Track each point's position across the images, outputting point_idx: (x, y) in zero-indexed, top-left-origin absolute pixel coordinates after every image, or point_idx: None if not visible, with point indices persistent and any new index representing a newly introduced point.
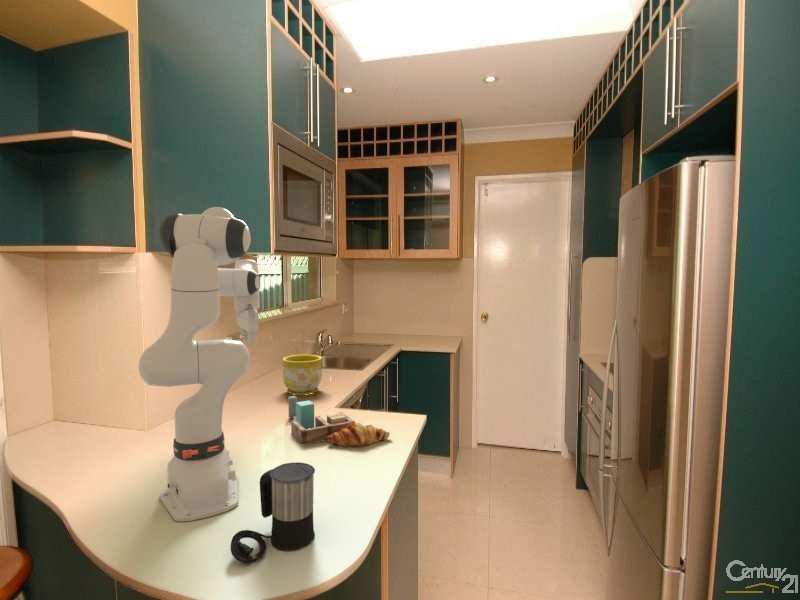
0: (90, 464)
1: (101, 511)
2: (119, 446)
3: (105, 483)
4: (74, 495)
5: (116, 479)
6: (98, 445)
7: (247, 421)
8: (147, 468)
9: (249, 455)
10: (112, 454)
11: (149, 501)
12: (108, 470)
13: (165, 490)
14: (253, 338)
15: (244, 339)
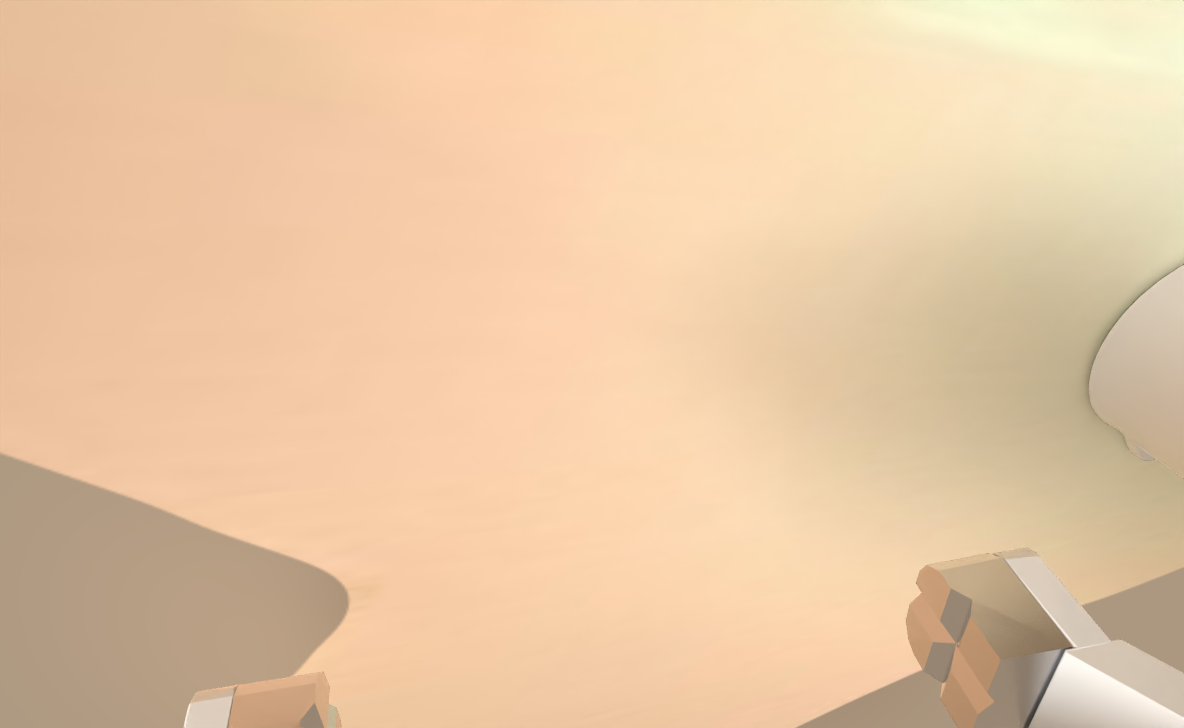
0: (695, 670)
1: (1082, 565)
2: (546, 640)
3: (897, 598)
4: None
5: (888, 579)
6: (492, 700)
7: (408, 56)
8: (862, 517)
9: (1044, 131)
10: (631, 639)
11: (1130, 473)
12: (791, 615)
13: (1142, 449)
14: (1099, 628)
15: (334, 716)
